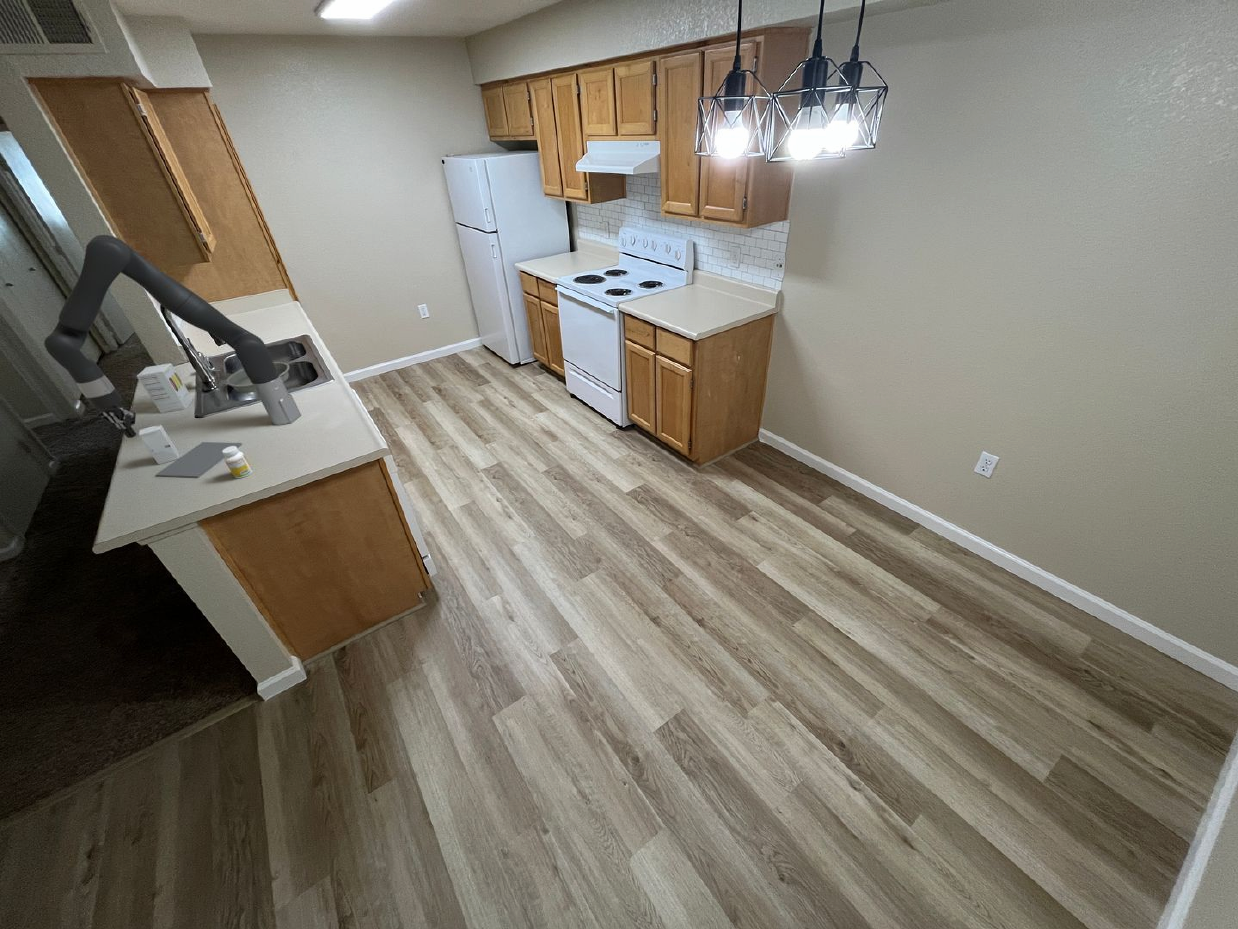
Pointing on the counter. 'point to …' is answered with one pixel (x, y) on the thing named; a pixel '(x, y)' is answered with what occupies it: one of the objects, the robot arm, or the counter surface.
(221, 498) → the counter surface
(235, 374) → the cake pan
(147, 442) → the skincare box
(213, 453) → the rubber mat
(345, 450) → the counter surface
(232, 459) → the supplement bottle
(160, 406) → the supplement box
